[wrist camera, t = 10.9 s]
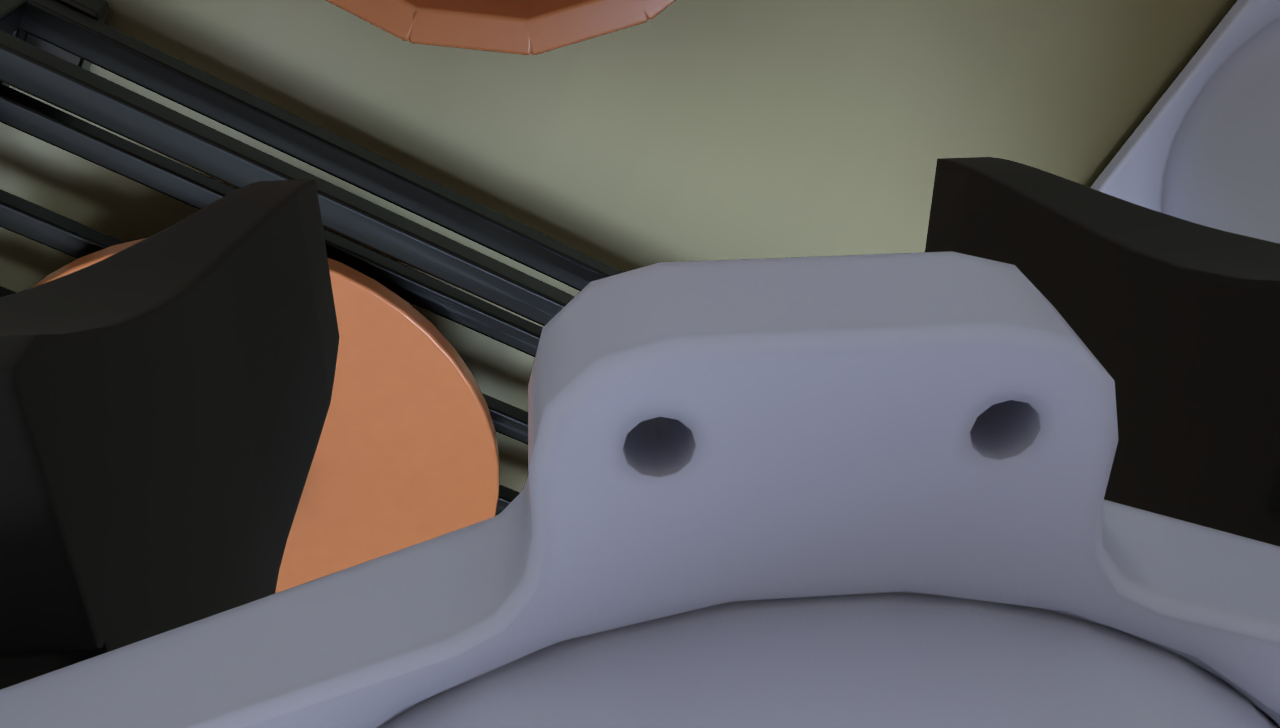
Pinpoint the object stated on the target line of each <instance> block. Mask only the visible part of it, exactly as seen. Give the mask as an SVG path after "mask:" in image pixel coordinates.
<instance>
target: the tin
mask: <svg viewBox="0 0 1280 728" xmlns="http://www.w3.org/2000/svg"><path fill="white" fill-rule="evenodd" d="M326 1H328V2H330V3H332V4H334V5H336V6H338V7H340V8H342V9H344V10H346V11H347V12H349V13H351V14H353V15H355V16H357V17H359V18H361V19H363V20H365V21H367V22H369V23H371V24H373V25H375V26H377V27H379V28H380V29H382V30H384V31H386V32H388V33H390V34H392V35H394V36H396V37H398V38H400V39H402V40H404V41H408V40H409V41H410V42H411V43H416V44H425V45H435V46H444V47H454V48H464V49H473V50H483V51H493V52H502V53H512V54H522V55H530V54H531V53H532V54H533V55H537V54H540V53H543V52H547V51H550V50H553V49H557V48H560V47H564V46H567V45H570V44H574V43H577V42H581V41H584V40H587V39H591V38H594V37H598V36H601V35H604V34H608V33H611V32H614V31H618V30H621V29H625V28H628V27H631V26H635V25H638V24H642V23H645V22H647V21H648V19H649V20H650V19H653V18H654V17H655V16H657V15H658V14H659V13H660V12H662V11H663V10H664V9H665V8H667V7H668V6H669V5H670V4H672V3H673V2H674V1H675V0H326Z"/></svg>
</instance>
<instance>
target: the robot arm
mask: <svg viewBox="0 0 1280 728" xmlns="http://www.w3.org/2000/svg"><path fill="white" fill-rule="evenodd" d="M339 338H340V337H339V330H338V324H337V317H336V311H335V304H334V298H333V291H332V284H331V278H330V271H329V265H328V258H327V252H326V245H325V239H324V232H323V226H322V219H321V212H320V206H319V199H318V193H317V186H316V180H315V179H307V180H276V181H259V182H255V183H251V184H249V185H246V186H244V187H242V188H240V189H238V190H236V191H234V192H232V193H230V194H228V195H226V196H224V197H222V198H220V199H218V200H217V201H215V202H213V203H211V204H209V205H208V206H206V207H204V208H202V209H200V210H199V211H197V212H195V213H193V214H191V215H190V216H188V217H186V218H184V219H182V220H181V221H179V222H177V223H175V224H173V225H172V226H170V227H168V228H166V229H164V230H162V231H160V232H158V233H156V234H154V235H152V236H150V237H148V238H146V239H144V240H142V241H140V242H138V243H136V244H134V245H132V246H130V247H128V248H126V249H124V250H122V251H120V252H118V253H116V254H114V255H112V256H110V257H108V258H106V259H104V260H102V261H99V262H97V263H95V264H93V265H90V266H88V267H86V268H83V269H81V270H78V271H76V272H73V273H71V274H68V275H66V276H63V277H60V278H58V279H55V280H52V281H49V282H47V283H44V284H41V285H38V286H36V287H33V288H30V289H27V290H24V291H21V292H18V293H15V294H11V295H7V296H4V297H0V728H1280V0H1237V2H1236V3H1235V4H1234V5H1233V7H1232V8H1231V9H1230V11H1229V12H1228V13H1227V14H1226V16H1225V17H1224V18H1223V19H1222V21H1221V22H1220V23H1219V25H1218V26H1217V27H1216V28H1215V30H1214V31H1213V32H1212V33H1211V35H1210V36H1209V37H1208V38H1207V40H1206V41H1205V42H1204V44H1203V45H1202V46H1201V47H1200V49H1199V50H1198V51H1197V52H1196V54H1195V55H1194V56H1193V57H1192V59H1191V60H1190V61H1189V63H1188V64H1187V65H1186V66H1185V68H1184V69H1183V70H1182V71H1181V73H1180V74H1179V75H1178V77H1177V78H1176V79H1175V80H1174V82H1173V83H1172V84H1171V85H1170V87H1169V88H1168V89H1167V90H1166V92H1165V93H1164V94H1163V96H1162V97H1161V98H1160V99H1159V101H1158V102H1157V103H1156V104H1155V106H1154V107H1153V108H1152V109H1151V111H1150V112H1149V113H1148V115H1147V116H1146V117H1145V118H1144V120H1143V121H1142V122H1141V123H1140V125H1139V126H1138V127H1137V129H1136V130H1135V131H1134V132H1133V134H1132V135H1131V136H1130V137H1129V139H1128V140H1127V141H1126V142H1125V144H1124V145H1123V146H1122V148H1121V149H1120V150H1119V151H1118V153H1117V154H1116V155H1115V156H1114V158H1113V159H1112V160H1111V162H1110V163H1109V164H1108V165H1107V167H1106V168H1105V169H1104V170H1103V172H1102V173H1101V174H1100V175H1099V177H1098V178H1097V179H1096V181H1095V182H1094V183H1093V184H1092V186H1091V187H1090V188H1089V187H1086V186H1084V185H1081V184H1078V183H1076V182H1073V181H1070V180H1067V179H1065V178H1062V177H1059V176H1056V175H1054V174H1051V173H1048V172H1045V171H1042V170H1039V169H1037V168H1034V167H1030V166H1027V165H1024V164H1021V163H1017V162H1013V161H1010V160H1005V159H1000V158H992V157H977V158H947V159H937V167H936V174H935V182H934V189H933V197H932V204H931V211H930V219H929V226H928V234H927V241H926V249H925V252H923V253H897V254H871V255H845V256H819V257H793V258H767V259H741V260H715V261H689V262H663V263H656V264H652V265H649V266H645V267H641V268H638V269H634V270H631V271H627V272H624V273H620V274H617V275H613V276H609V277H606V278H602V279H599V280H595V281H592V282H590V283H589V284H588V285H587V286H586V287H585V288H584V289H583V290H582V291H580V292H579V293H578V294H577V295H576V296H575V297H574V298H573V299H572V300H571V301H570V302H569V303H568V304H567V305H566V306H565V307H564V308H563V309H562V310H561V311H560V312H559V313H557V314H556V315H555V316H554V317H553V318H552V319H551V320H550V321H549V322H548V323H547V324H546V325H545V326H544V327H543V329H542V332H541V336H540V340H539V344H538V348H537V352H536V356H535V360H534V364H533V368H532V372H531V376H530V380H529V384H528V473H529V475H528V478H527V480H526V482H525V485H524V487H523V490H522V491H521V493H520V494H519V495H518V496H517V497H516V498H515V499H514V500H513V501H512V502H511V503H510V504H509V505H508V506H507V507H506V508H505V509H504V510H503V511H502V512H501V513H500V514H498V515H497V516H495V517H492V518H489V519H487V520H484V521H481V522H478V523H475V524H472V525H469V526H467V527H464V528H461V529H458V530H455V531H452V532H449V533H447V534H444V535H441V536H438V537H435V538H432V539H429V540H427V541H424V542H421V543H418V544H415V545H412V546H409V547H407V548H404V549H401V550H398V551H395V552H392V553H389V554H387V555H384V556H381V557H378V558H375V559H372V560H369V561H367V562H364V563H361V564H358V565H355V566H352V567H350V568H347V569H344V570H341V571H338V572H335V573H332V574H330V575H327V576H324V577H321V578H318V579H315V580H312V581H310V582H307V583H304V584H301V585H298V586H295V587H292V588H290V589H287V590H284V591H281V592H278V593H275V591H276V586H277V580H278V574H279V569H280V566H281V562H282V558H283V554H284V550H285V546H286V542H287V539H288V536H289V532H290V529H291V526H292V523H293V520H294V517H295V514H296V511H297V508H298V504H299V501H300V498H301V495H302V492H303V489H304V486H305V483H306V480H307V476H308V473H309V470H310V467H311V464H312V461H313V458H314V455H315V452H316V448H317V445H318V442H319V439H320V435H321V432H322V429H323V426H324V423H325V419H326V416H327V413H328V409H329V406H330V402H331V397H332V390H333V383H334V377H335V370H336V362H337V354H338V346H339Z"/></svg>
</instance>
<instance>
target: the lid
mask: <svg viewBox="0 0 1280 728" xmlns="http://www.w3.org/2000/svg"><path fill="white" fill-rule="evenodd" d="M144 239H146V238H144ZM144 239H140V240H135V241H131V242H126V243H122V244H117V245H113V246H110V247H108V248H105V249H102V250H100V251H97V252H94V253H91V254H89V255H86V256H83V257H80V258H78V259H76V260H75V261H73V262H71V263H69V264H67V265H65V266H63V267H62V268H60V269H58V270H56V271H54V272H52V273H50V274H49V275H47V276H46V277H45V278H43V279H42V280H41V281H39V282H38V283H37V284H35V285H34V286H33V287H36V286H38V285H41V284H44V283H47V282H49V281H52V280H55V279H58V278H60V277H63V276H66V275H68V274H71V273H73V272H76V271H78V270H81V269H83V268H86V267H88V266H90V265H93V264H95V263H97V262H99V261H102V260H104V259H106V258H108V257H110V256H112V255H114V254H116V253H118V252H120V251H122V250H124V249H126V248H128V247H130V246H132V245H134V244H136V243H138V242H140V241H142V240H144ZM327 258H328V257H327ZM328 265H329V271H330V278H331V284H332V291H333V298H334V304H335V311H336V317H337V324H338V330H339V337H340V338H339V346H338V354H337V362H336V370H335V377H334V383H333V390H332V397H331V402H330V406H329V409H328V413H327V416H326V419H325V423H324V426H323V429H322V432H321V435H320V439H319V442H318V445H317V448H316V452H315V455H314V458H313V461H312V464H311V467H310V470H309V473H308V476H307V480H306V483H305V486H304V489H303V492H302V495H301V498H300V501H299V504H298V508H297V511H296V514H295V517H294V520H293V523H292V526H291V529H290V532H289V536H288V539H287V542H286V546H285V550H284V554H283V558H282V562H281V566H280V569H279V574H278V580H277V586H276V591H275V593H278V592H281V591H284V590H287V589H290V588H292V587H295V586H298V585H301V584H304V583H307V582H310V581H312V580H315V579H318V578H321V577H324V576H327V575H330V574H332V573H335V572H338V571H341V570H344V569H347V568H350V567H352V566H355V565H358V564H361V563H364V562H367V561H369V560H372V559H375V558H378V557H381V556H384V555H387V554H389V553H392V552H395V551H398V550H401V549H404V548H407V547H409V546H412V545H415V544H418V543H421V542H424V541H427V540H429V539H432V538H435V537H438V536H441V535H444V534H447V533H449V532H452V531H455V530H458V529H461V528H464V527H467V526H469V525H472V524H475V523H478V522H481V521H484V520H487V519H489V518H492V517H495V515H496V509H497V503H498V497H499V451H498V445H497V439H496V433H495V428H494V425H493V422H492V418H491V415H490V412H489V409H488V406H487V403H486V401H485V399H484V397H483V395H482V392H481V390H480V388H479V386H478V384H477V382H476V380H475V378H474V376H473V374H472V373H471V371H470V370H469V369H468V367H467V366H466V364H465V363H464V361H463V360H462V358H461V357H460V355H459V354H458V353H457V351H456V350H455V348H454V347H453V346H452V345H451V344H450V343H449V342H448V340H447V339H446V338H445V337H444V336H443V335H442V334H441V333H440V332H439V330H438V329H437V328H436V327H435V326H434V325H433V324H432V323H431V322H430V321H429V320H428V319H427V318H425V317H424V316H423V315H422V314H421V313H420V312H418V311H417V310H416V309H415V308H414V307H413V306H411V305H410V304H409V303H408V302H407V301H406V300H404V299H403V298H401V297H400V296H398V295H397V294H395V293H394V292H392V291H391V290H389V289H388V288H386V287H385V286H383V285H382V284H380V283H379V282H377V281H376V280H374V279H372V278H370V277H368V276H366V275H364V274H362V273H361V272H359V271H357V270H355V269H353V268H351V267H349V266H347V265H345V264H343V263H341V262H338V261H336V260H333V259H330V258H328ZM33 287H31V288H33Z"/></svg>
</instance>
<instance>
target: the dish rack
mask: <svg viewBox="0 0 1280 728" xmlns="http://www.w3.org/2000/svg"><path fill="white" fill-rule="evenodd" d="M109 10H110V5H109V4H108V3H107V2H106V1H103V0H0V122H2V123H4V124H6V125H9V126H11V127H13V128H16V129H18V130H20V131H22V132H25V133H27V134H29V135H31V136H34V137H36V138H38V139H41V140H43V141H45V142H47V143H50V144H52V145H54V146H56V147H59V148H61V149H63V150H66V151H68V152H70V153H72V154H75V155H77V156H79V157H81V158H84V159H86V160H88V161H90V162H93V163H95V164H97V165H100V166H102V167H104V168H106V169H109V170H111V171H113V172H115V173H118V174H120V175H122V176H125V177H127V178H129V179H131V180H134V181H136V182H138V183H140V184H143V185H145V186H147V187H150V188H152V189H154V190H156V191H159V192H161V193H163V194H165V195H168V196H170V197H172V198H175V199H177V200H179V201H181V202H184V203H186V204H188V205H190V206H193V207H195V208H197V209H199V210H200V209H202V208H204V207H206V206H208V205H209V204H211V203H213V202H215V201H217V200H218V199H220V198H222V197H224V196H226V195H228V194H230V193H232V192H234V191H236V189H234V188H231V187H229V186H227V185H225V184H222V183H220V182H218V181H216V180H214V179H211V178H209V177H207V176H205V175H203V174H200V173H198V172H196V171H194V170H191V169H189V168H187V167H185V166H183V165H180V164H178V163H176V162H174V161H171V160H169V159H167V158H165V157H163V156H160V155H158V154H156V153H154V152H151V151H149V150H147V149H145V148H143V147H140V146H138V145H136V144H134V143H131V142H129V141H127V140H125V139H123V138H120V137H118V136H116V135H114V134H111V133H109V132H107V131H105V130H103V129H100V128H98V127H96V126H94V125H91V124H89V123H87V122H85V121H83V120H80V119H78V118H76V117H74V116H71V115H69V114H67V113H65V112H63V111H60V110H58V109H56V108H54V107H52V106H49V105H47V104H45V103H43V102H40V101H38V100H36V99H34V98H32V97H29V96H27V95H25V94H23V93H20V92H18V91H16V90H14V89H12V88H9V85H11V86H13V87H15V88H17V89H20V90H22V91H24V92H26V93H28V94H31V95H33V96H35V97H37V98H39V99H42V100H44V101H46V102H48V103H51V104H53V105H55V106H57V107H59V108H62V109H64V110H66V111H68V112H71V113H73V114H75V115H77V116H79V117H82V118H84V119H86V120H88V121H90V122H93V123H95V124H97V125H99V126H102V127H104V128H106V129H108V130H110V131H113V132H115V133H117V134H119V135H122V136H124V137H126V138H128V139H130V140H133V141H135V142H137V143H139V144H141V145H144V146H146V147H148V148H150V149H153V150H155V151H157V152H159V153H161V154H164V155H166V156H168V157H170V158H173V159H175V160H177V161H179V162H181V163H184V164H186V165H188V166H190V167H192V168H195V169H197V170H199V171H201V172H204V173H206V174H208V175H210V176H212V177H215V178H217V179H219V180H221V181H224V182H226V183H228V184H230V185H232V186H235V187H237V188H239V189H240V188H242V187H244V186H246V185H249V184H251V183H255V182H259V181H276V180H307V179H315V180H316V186H317V193H318V199H319V206H320V212H321V219H322V226H323V227H326V228H328V229H330V230H332V231H334V232H337V233H339V234H341V235H343V236H345V237H348V238H350V239H352V240H354V241H357V242H359V243H361V244H363V245H365V246H368V247H370V248H372V249H374V250H377V251H379V252H381V253H383V254H385V255H388V256H390V257H392V258H394V259H396V260H399V261H401V262H403V263H405V264H408V265H410V266H412V267H414V268H416V269H419V270H421V271H423V272H425V273H427V274H430V275H432V276H434V277H436V278H439V279H441V280H443V281H445V282H447V283H450V284H452V285H454V286H456V287H459V288H461V289H463V290H465V291H467V292H470V293H472V294H474V295H476V296H478V297H481V298H483V299H485V300H487V301H490V302H492V303H494V304H496V305H498V306H501V307H503V308H505V309H507V310H510V311H512V312H514V313H516V314H518V315H521V316H523V317H525V318H527V319H529V320H532V321H534V322H536V323H538V324H541V325H543V326H545V325H546V324H547V323H548V322H549V321H550V320H551V319H552V318H553V317H554V316H555V315H556V314H557V313H559V312H560V311H561V310H562V309H563V308H564V307H565V306H566V305H567V304H568V303H569V302H570V301H571V300H572V299H573V298H574V296H572V295H570V294H568V293H566V292H564V291H561V290H559V289H557V288H555V287H553V286H551V285H548V284H546V283H544V282H542V281H540V280H538V279H536V278H533V277H531V276H529V275H527V274H525V273H523V272H520V271H518V270H516V269H514V268H512V267H510V266H508V265H505V264H503V263H501V262H499V261H497V260H495V259H492V258H490V257H488V256H486V255H484V254H482V253H480V252H477V251H475V250H473V249H471V248H469V247H467V246H464V245H462V244H460V243H458V242H456V241H454V240H452V239H449V238H447V237H445V236H443V235H441V234H439V233H436V232H434V231H432V230H430V229H428V228H426V227H423V226H421V225H419V224H417V223H415V222H413V221H411V220H408V219H406V218H404V217H402V216H400V215H398V214H395V213H393V212H391V211H389V210H387V209H385V208H383V207H380V206H378V205H376V204H374V203H372V202H370V201H367V200H365V199H363V198H361V197H359V196H357V195H355V194H352V193H350V192H348V191H346V190H344V189H342V188H339V187H337V186H335V185H333V184H331V183H329V182H327V181H324V180H322V179H320V178H318V177H316V176H314V175H311V174H309V173H307V172H305V171H303V170H301V169H299V168H296V167H294V166H292V165H290V164H288V163H286V162H283V161H281V160H279V159H277V158H275V157H273V156H271V155H268V154H266V153H264V152H262V151H260V150H258V149H255V148H253V147H251V146H249V145H247V144H245V143H243V142H240V141H238V140H236V139H234V138H232V137H230V136H227V135H225V134H223V133H221V132H219V131H217V130H215V129H212V128H210V127H208V126H206V125H204V124H202V123H199V122H197V121H195V120H193V119H191V118H189V117H187V116H184V115H182V114H180V113H178V112H176V111H174V110H171V109H169V108H167V107H165V106H163V105H161V104H159V103H156V102H154V101H152V100H150V99H148V98H146V97H143V96H141V95H139V94H137V93H135V92H133V91H131V90H128V89H126V88H124V87H122V86H120V85H118V84H115V83H113V82H111V81H109V80H107V79H105V78H103V77H100V76H98V75H96V74H94V73H92V72H90V71H88V69H89V67H90V64H91V63H93V64H95V65H97V66H99V67H101V68H103V69H106V70H108V71H110V72H112V73H114V74H116V75H118V76H121V77H123V78H125V79H127V80H129V81H131V82H133V83H136V84H138V85H140V86H142V87H144V88H146V89H148V90H151V91H153V92H155V93H157V94H159V95H161V96H163V97H166V98H168V99H170V100H172V101H174V102H176V103H178V104H181V105H183V106H185V107H187V108H189V109H191V110H193V111H196V112H198V113H200V114H202V115H204V116H206V117H208V118H211V119H213V120H215V121H217V122H219V123H221V124H223V125H226V126H228V127H230V128H232V129H234V130H236V131H238V132H241V133H243V134H245V135H247V136H249V137H251V138H253V139H256V140H258V141H260V142H262V143H264V144H266V145H268V146H271V147H273V148H275V149H277V150H279V151H281V152H283V153H286V154H288V155H290V156H292V157H294V158H296V159H298V160H301V161H303V162H305V163H307V164H309V165H311V166H313V167H316V168H318V169H320V170H322V171H324V172H326V173H328V174H331V175H333V176H335V177H337V178H339V179H341V180H343V181H346V182H348V183H350V184H352V185H354V186H356V187H358V188H361V189H363V190H365V191H367V192H369V193H371V194H373V195H376V196H378V197H380V198H382V199H384V200H386V201H388V202H391V203H393V204H395V205H397V206H399V207H401V208H403V209H406V210H408V211H410V212H412V213H414V214H416V215H418V216H421V217H423V218H425V219H427V220H429V221H431V222H433V223H436V224H438V225H440V226H442V227H444V228H446V229H448V230H451V231H453V232H455V233H457V234H459V235H461V236H463V237H466V238H468V239H470V240H472V241H474V242H476V243H478V244H481V245H483V246H485V247H487V248H489V249H491V250H493V251H496V252H498V253H500V254H502V255H504V256H506V257H508V258H510V259H513V260H515V261H517V262H519V263H521V264H523V265H525V266H528V267H530V268H532V269H534V270H536V271H538V272H540V273H543V274H545V275H547V276H549V277H551V278H553V279H555V280H558V281H560V282H562V283H564V284H566V285H568V286H570V287H573V288H575V289H577V290H579V291H582V290H583V289H584V288H585V287H586V286H587V285H588V284H589V283H590V282H592V281H595V280H599V279H602V278H606V277H609V276H613V275H617V274H620V273H624V272H621V271H619V270H617V269H615V268H613V267H611V266H609V265H607V264H605V263H603V262H601V261H598V260H596V259H594V258H592V257H590V256H588V255H586V254H584V253H582V252H580V251H578V250H575V249H573V248H571V247H569V246H567V245H565V244H563V243H561V242H559V241H557V240H555V239H552V238H550V237H548V236H546V235H544V234H542V233H540V232H538V231H536V230H534V229H532V228H530V227H527V226H525V225H523V224H521V223H519V222H517V221H515V220H513V219H511V218H509V217H507V216H504V215H502V214H500V213H498V212H496V211H494V210H492V209H490V208H488V207H486V206H484V205H481V204H479V203H477V202H475V201H473V200H471V199H469V198H467V197H465V196H463V195H461V194H458V193H456V192H454V191H452V190H450V189H448V188H446V187H444V186H442V185H440V184H438V183H435V182H433V181H431V180H429V179H427V178H425V177H423V176H421V175H419V174H417V173H415V172H413V171H410V170H408V169H406V168H404V167H402V166H400V165H398V164H396V163H394V162H392V161H390V160H387V159H385V158H383V157H381V156H379V155H377V154H375V153H373V152H371V151H369V150H367V149H364V148H362V147H360V146H358V145H356V144H354V143H352V142H350V141H348V140H346V139H344V138H341V137H339V136H337V135H335V134H333V133H331V132H329V131H327V130H325V129H323V128H321V127H319V126H316V125H314V124H312V123H310V122H308V121H306V120H304V119H302V118H300V117H298V116H296V115H293V114H291V113H289V112H287V111H285V110H283V109H281V108H279V107H277V106H275V105H273V104H270V103H268V102H266V101H264V100H262V99H260V98H258V97H256V96H254V95H252V94H250V93H247V92H245V91H243V90H241V89H239V88H237V87H235V86H233V85H231V84H229V83H227V82H224V81H222V80H220V79H218V78H216V77H214V76H212V75H210V74H208V73H206V72H204V71H202V70H199V69H197V68H195V67H193V66H191V65H189V64H187V63H185V62H183V61H181V60H179V59H176V58H174V57H172V56H170V55H168V54H166V53H164V52H162V51H160V50H158V49H156V48H153V47H151V46H149V45H147V44H145V43H143V42H141V41H139V40H137V39H135V38H133V37H130V36H128V35H126V34H124V33H122V32H120V31H118V30H116V29H114V28H112V27H110V26H108V25H105V21H106V18H107V15H108V12H109ZM0 227H3V228H5V229H8V230H10V231H12V232H15V233H17V234H20V235H22V236H25V237H27V238H29V239H32V240H34V241H37V242H39V243H41V244H44V245H46V246H49V247H51V248H54V249H56V250H58V251H61V252H63V253H66V254H68V255H70V256H73V257H75V258H80V257H83V256H86V255H89V254H91V253H94V252H97V251H100V250H102V249H105V248H108V247H110V246H113V245H117V244H122V243H126V242H124V241H121V240H119V239H117V238H114V237H112V236H109V235H107V234H105V233H102V232H100V231H98V230H95V229H93V228H91V227H88V226H86V225H83V224H81V223H79V222H76V221H74V220H72V219H69V218H67V217H65V216H62V215H60V214H57V213H55V212H53V211H50V210H48V209H46V208H43V207H41V206H39V205H36V204H34V203H31V202H29V201H27V200H24V199H22V198H20V197H17V196H15V195H13V194H10V193H8V192H5V191H3V190H1V189H0ZM323 232H324V239H325V245H326V252H327V257H328V258H330V259H333V260H336V261H338V262H341V263H343V264H345V265H347V266H349V267H351V268H353V269H355V270H357V271H359V272H361V273H362V274H364V275H366V276H368V277H370V278H372V279H374V280H376V281H377V282H379V283H380V284H382V285H383V286H385V287H386V288H388V289H389V290H391V291H392V292H394V293H395V294H397V295H398V296H400V297H401V298H403V299H404V300H406V301H408V302H411V303H413V304H415V305H417V306H420V307H422V308H424V309H427V310H429V311H431V312H433V313H436V314H438V315H440V316H442V317H445V318H447V319H449V320H452V321H454V322H456V323H458V324H461V325H463V326H465V327H467V328H470V329H472V330H474V331H476V332H479V333H481V334H483V335H486V336H488V337H490V338H492V339H495V340H497V341H499V342H501V343H504V344H506V345H508V346H511V347H513V348H515V349H517V350H520V351H522V352H524V353H526V354H529V355H531V356H533V357H535V356H536V352H537V348H538V344H539V340H540V336H541V332H542V329H543V328H542V327H540V326H538V325H536V324H533V323H531V322H529V321H527V320H524V319H522V318H520V317H518V316H516V315H513V314H511V313H509V312H507V311H504V310H502V309H500V308H498V307H496V306H493V305H491V304H489V303H487V302H485V301H482V300H480V299H478V298H476V297H473V296H471V295H469V294H467V293H465V292H462V291H460V290H458V289H456V288H453V287H451V286H449V285H447V284H445V283H442V282H440V281H438V280H436V279H433V278H431V277H429V276H427V275H425V274H422V273H420V272H418V271H416V270H413V269H411V268H409V267H407V266H405V265H402V264H400V263H398V262H396V261H393V260H391V259H389V258H387V257H385V256H382V255H380V254H378V253H376V252H373V251H371V250H369V249H367V248H365V247H362V246H360V245H358V244H356V243H353V242H351V241H349V240H347V239H345V238H342V237H340V236H338V235H336V234H334V233H331V232H329V231H327V230H325V229H323ZM15 293H16V292H14V291H11V290H9V289H6V288H4V287H1V286H0V297H4V296H7V295H11V294H15ZM482 395H483V397H484V399H485V401H486V403H487V406H488V409H489V412H490V415H491V418H492V422H493V425H494V428H495V431H496V432H499V433H501V434H504V435H506V436H508V437H511V438H513V439H516V440H518V441H521V442H523V443H525V444H528V412H526V411H523V410H521V409H519V408H516V407H514V406H511V405H509V404H507V403H504V402H502V401H500V400H497V399H495V398H493V397H490V396H488V395H485V394H483V393H482ZM519 494H520V493H519V492H517V491H514V490H511V489H509V488H506V487H504V486H501V485H499V497H498V503H497V509H496V515H498V514H500V513H501V512H502V511H503V510H504V509H505V508H506V507H507V506H508V505H509V504H510V503H511V502H512V501H513V500H514V499H515V498H516V497H517V496H518V495H519Z"/></svg>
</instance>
